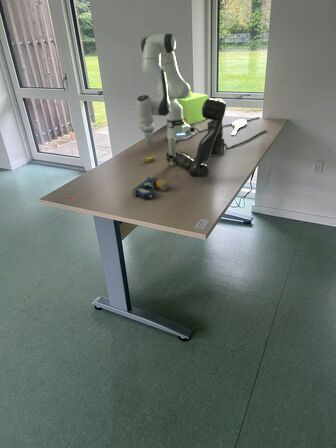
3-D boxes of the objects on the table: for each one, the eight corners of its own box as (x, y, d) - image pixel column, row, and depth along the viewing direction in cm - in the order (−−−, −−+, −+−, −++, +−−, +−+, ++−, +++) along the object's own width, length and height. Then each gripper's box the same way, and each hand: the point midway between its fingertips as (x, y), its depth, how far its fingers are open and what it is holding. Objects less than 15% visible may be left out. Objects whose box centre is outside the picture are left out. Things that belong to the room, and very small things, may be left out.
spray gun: (173, 183, 178) (149, 181, 184) (172, 176, 176) (148, 174, 182) (155, 202, 162) (129, 198, 169) (154, 194, 160) (128, 191, 167)
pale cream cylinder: (171, 166, 201) (169, 139, 192) (169, 164, 204) (166, 137, 195) (177, 164, 202) (176, 137, 193) (175, 162, 205) (173, 135, 196)
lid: (154, 162, 209) (153, 158, 208) (146, 163, 209) (146, 159, 208) (153, 159, 213) (152, 156, 212) (145, 160, 213) (145, 157, 212)
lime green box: (191, 115, 302) (190, 88, 290) (208, 118, 288) (208, 90, 276) (170, 121, 289) (168, 93, 277) (187, 125, 275) (185, 95, 263)
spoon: (240, 137, 241) (240, 135, 240) (225, 137, 245) (225, 134, 244) (248, 121, 267) (248, 119, 266) (234, 121, 271) (234, 118, 270)
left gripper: (139, 120, 208) (142, 142, 216) (143, 130, 191) (146, 153, 198) (149, 119, 209) (152, 140, 216) (154, 128, 192) (156, 151, 199)
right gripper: (194, 152, 189) (180, 144, 202) (172, 158, 184) (159, 149, 197) (195, 164, 193) (181, 156, 206) (173, 170, 188) (160, 161, 201)
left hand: (149, 146), depth 207 cm, fingers open, 8 cm apart
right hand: (170, 153), depth 202 cm, fingers closed on pale cream cylinder, 4 cm apart
